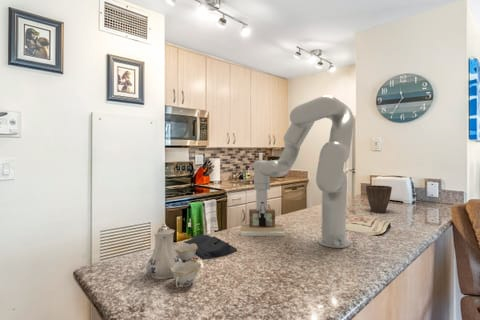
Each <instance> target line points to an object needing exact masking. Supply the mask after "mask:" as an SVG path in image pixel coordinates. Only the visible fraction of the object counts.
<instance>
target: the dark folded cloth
mask: <svg viewBox="0 0 480 320" xmlns="http://www.w3.org/2000/svg"><path fill="white" fill-rule="evenodd" d="M183 243H188V244H192V243H195V244H196V245H197V247H198V249H196V253H195V255H194V256H197V257H198V258H199V259H200V260H208V261H209V260H212V259H216V258H222V257H226V256H229V255H231V254H233V253H235V252H237V251H238V248H236V247H235V246H233V245H232V244H230V243H229V242H227V241H225V240H222V239H221V238H218V237H216V236H211V235H209V234H198V235H195V236H194V237H192V238H190V239H189V240H186V241H183Z"/></svg>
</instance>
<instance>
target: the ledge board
mask: <svg viewBox="0 0 480 320" xmlns="http://www.w3.org/2000/svg"><path fill="white" fill-rule="evenodd" d="M240 226H241V227H240V237H245V236H247V237H249V236H250V237H253V236H254V237H285V235H286V234H285V227H283V223H275V228H253V227H249V223H241V224H240Z"/></svg>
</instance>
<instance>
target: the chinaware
mask: <svg viewBox="0 0 480 320" xmlns="http://www.w3.org/2000/svg"><path fill="white" fill-rule="evenodd" d="M152 233H153V234H154V249H153V252H152V255H151V257H150V258H149V260H148V261H147V264H146V266H145V268H146V270H147V271H148V272H149V273H150V277H151V278H152V279H155V280H168V279H171V278H173V279H174V280H175V287H176V288H178V289H179V288H187V287H189V286H192V284H191V283H193V282H194V281H195V279H196V278H197V275H198V272H199V269H200V268H201V264H200V263H196V262H195V261H193V260H192V259H193V258H194V257H195V256H196V255H195V253H196V249H198V247H197V245H196V244H195V243H192V244H188V243H184V242H182V243H180V244H179V245H174V234H175V229H171V228H170V227H169V226H167V224H166V223H165V222H162V224H161V227H159V228H158V229H156V230H155V231H153V232H152ZM178 284H179V285H178Z"/></svg>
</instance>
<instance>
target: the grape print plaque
mask: <svg viewBox="0 0 480 320" xmlns="http://www.w3.org/2000/svg"><path fill="white" fill-rule="evenodd" d="M391 224H392V223H391V222H389V221H386V220H383V219H381V218H377V217H373V216H367V215H359V214H358V215H356V214H346V232H350V233H356V234H363V235H367V234H368V235H367V236H378V235H380V234H381V235H382V234H383V233H384V232H386V231H387V228H388V227H389V226H390V225H391Z"/></svg>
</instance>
